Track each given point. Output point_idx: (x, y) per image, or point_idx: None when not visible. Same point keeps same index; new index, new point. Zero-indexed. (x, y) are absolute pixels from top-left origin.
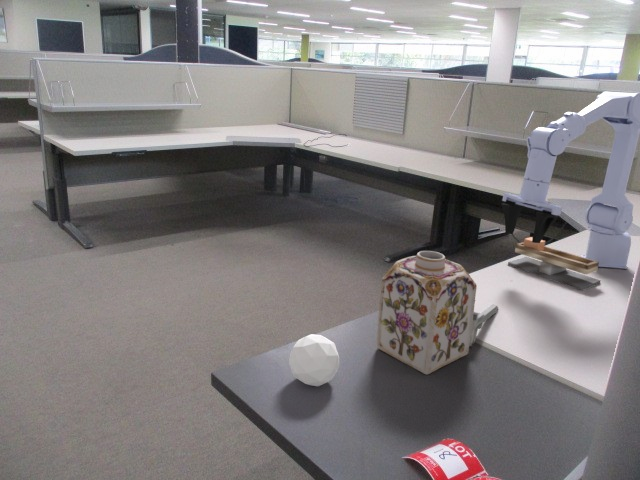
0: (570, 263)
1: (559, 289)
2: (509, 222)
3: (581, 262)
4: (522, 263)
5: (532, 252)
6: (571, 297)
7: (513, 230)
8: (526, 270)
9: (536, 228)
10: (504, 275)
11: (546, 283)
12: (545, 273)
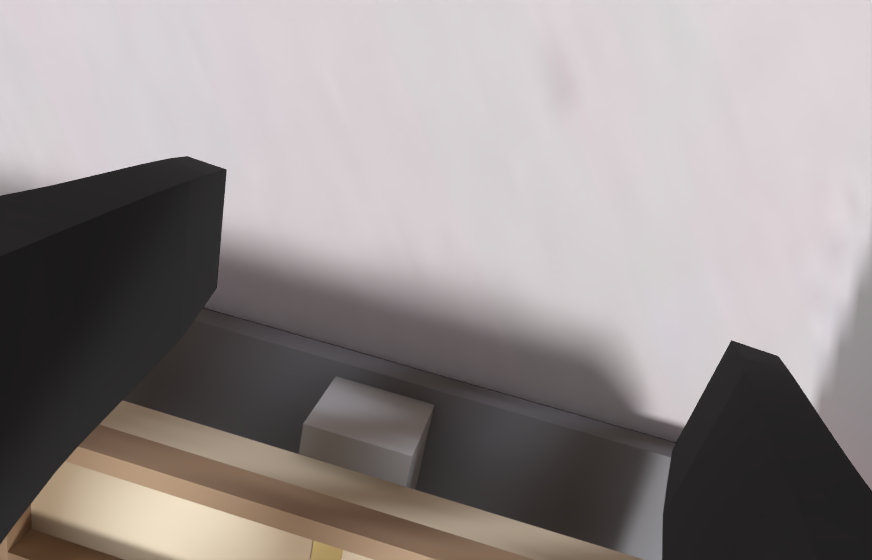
0: (134, 442)
1: None
2: (758, 498)
3: (115, 541)
4: (618, 513)
5: (513, 557)
6: (63, 72)
7: (670, 491)
8: (544, 409)
9: (8, 221)
10: (663, 176)
11: (315, 239)
12: (375, 388)
